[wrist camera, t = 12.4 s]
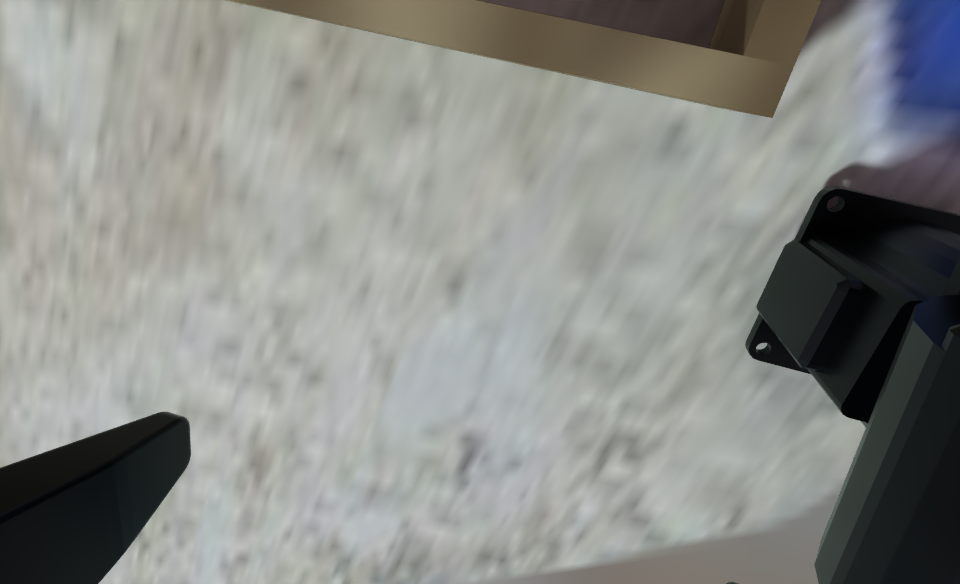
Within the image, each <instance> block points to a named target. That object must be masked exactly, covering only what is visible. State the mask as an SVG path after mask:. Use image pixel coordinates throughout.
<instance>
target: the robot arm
mask: <svg viewBox="0 0 960 584" xmlns="http://www.w3.org/2000/svg"><path fill="white" fill-rule="evenodd" d="M837 196H838V198H839V202H838V204H837V205H836V207H834V208H832V209H827V207H826V206H827V202H828V201H829V200H830V199H831V198H833V197H837ZM757 309H758V311H759V315H758V317H757V319H756V321H755V323H754V325H753V328H752V330H751V332H750V334H749V336H748V338H747V340H746V344H745V345H746V349H747V351H748V352H749V354H750V355H751V356H752V357H753V358H754V359H756V360H759V361H763V362H767V363H770V364H774V365H778V366H782V367H786V368H790V369H793V370H797V371H801V372H805V373H809V374H812V376H813V377H814V378H815V379H816V381H817V382H818V383H819V385H820V386H821V387H822V388H823V390H824V391H825V392H826V394H827V395H828V396H829V397H830V399H831V400H832V401H833V403H834V404H835V405H836V406H837V408H838V409H839V410H840V411H841V413H842V414H843V415H845V416H846V417H848V418H852V419H856V420H860V421H861V422H862V423H863V425H864V426H865V427H866V429H865V432H864V434H863V437H862V439H861V442H860V444H859V447H858V449H857V452H856V454H855V457H854V459H853V462H852V464H851V467H850V469H849V472H848V474H847V477H846V479H845V482H844V484H843V487H842V489H841V492H840V494H839V497H838V499H837V502H836V504H835V507H834V509H833V512H832V514H831V517H830V519H829V521H828V524H827V526H826V529H825V531H824V534H823V536H822V540H821V543H820V546H819V550H818V554H817V558H816V561H815V568H816V573H817V577H818V582H819V584H960V215H959V214H955V213H950V212H946V211H942V210H937V209H933V208H928V207H924V206H920V205H915V204H911V203H906V202H902V201H898V200H893V199H889V198H884V197H880V196H876V195H871V194H867V193H862V192H858V191H854V190H849V189H845V188H840V187H828V188H825V189H823V190H821V191H820V192H819V193H818V194H817V195H816V197H815V198H814V200H813V202H812V204H811V206H810V209H809V211H808V213H807V215H806V217H805V219H804V221H803V223H802V225H801V227H800V229H799V232H798V234H797V236H796V238H795V240H793V241H791V242H789V243H788V244H786V245H785V246H784V249H783V251H782V253H781V255H780V257H779V259H778V261H777V263H776V265H775V268H774V270H773V272H772V274H771V276H770V278H769V280H768V282H767V284H766V287H765V289H764V291H763V293H762V295H761V297H760V299H759V301H758V304H757ZM760 343H767V346H766V347H765V348H764V349H761V350H757V349H756V347H757V346H758V344H760ZM190 456H191V444H190V425H189V421H188V420H187V418H185V417H183V416H179V415H176V414H173V413H169V412H160V413H156V414H153V415H151V416H148V417H145V418H142V419H139V420H136V421H133V422H130V423H128V424H125V425H122V426H119V427H116V428H113V429H110V430H108V431H105V432H102V433H99V434H96V435H93V436H90V437H87V438H85V439H82V440H79V441H76V442H73V443H70V444H67V445H64V446H62V447H59V448H56V449H53V450H50V451H47V452H44V453H42V454H39V455H36V456H33V457H30V458H27V459H24V460H21V461H19V462H16V463H13V464H10V465H7V466H4V467H1V468H0V584H98V583H99V582H100V581H101V580H102V579H103V578H104V576H105V575H106V574H107V573H108V572H109V571H110V569H111V568H112V567H113V566H114V565H115V564H116V562H117V561H118V560H119V559H120V558H121V556H122V555H123V554H124V553H125V552H126V550H127V549H128V548H129V546H130V545H131V544H132V542H133V541H134V540H135V538H136V537H137V536H138V534H139V533H140V532H141V530H142V529H143V527H144V526H145V525H146V523H147V522H148V520H149V519H150V518H151V516H152V515H153V514H154V512H155V511H156V509H157V508H158V507H159V505H160V504H161V502H162V501H163V500H164V498H165V497H166V495H167V494H168V493H169V491H170V490H171V489H172V487H173V486H174V484H175V483H176V482H177V480H178V479H179V477H180V476H181V475H182V473H183V472H184V471H185V469H186V467H187V465H188V463H189V461H190ZM727 584H738V583H735V582H728V583H727Z"/></svg>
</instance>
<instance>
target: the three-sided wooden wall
mask: <svg viewBox="0 0 960 584" xmlns="http://www.w3.org/2000/svg"><path fill="white" fill-rule="evenodd" d="M227 1H232V2H236V3H241V4H246V5H250V6H255V7H259V8H264V9H269V10H273V11H278V12H282V13H287V14H292V15H296V16H301V17H305V18H310V19H314V20H319V21H324V22H328V23H333V24H337V25H342V26H347V27H351V28H356V29H360V30H365V31H370V32H374V33H379V34H383V35H388V36H393V37H397V38H402V39H406V40H411V41H415V42H420V43H425V44H429V45H434V46H438V47H443V48H448V49H452V50H457V51H461V52H466V53H471V54H475V55H480V56H484V57H489V58H494V59H498V60H503V61H507V62H512V63H516V64H521V65H526V66H530V67H535V68H539V69H544V70H549V71H553V72H558V73H562V74H567V75H572V76H576V77H581V78H585V79H590V80H595V81H599V82H604V83H608V84H613V85H618V86H622V87H627V88H631V89H636V90H640V91H645V92H650V93H654V94H659V95H663V96H668V97H673V98H677V99H682V100H686V101H691V102H696V103H700V104H705V105H709V106H714V107H719V108H723V109H728V110H733V111H739V112H744V113H749V114H755V115H760V116H765V117H771V118H773V115H774V113H775V111H776V108H777V106H778V103H779V101H780V99H781V96H782V94H783V91H784V89H785V87H786V84H787V82H788V79H789V77H790V75H791V72H792V70H793V67H794V65H795V63H796V60H797V58H798V55H799V53H800V51H801V48H802V46H803V43H804V41H805V39H806V36H807V34H808V31H809V29H810V26H811V24H812V22H813V19H814V17H815V14H816V12H817V10H818V7H819V5H820V2H821V0H725V2H724V5H723V8H722V11H721V13H720V16H719V19H718V22H717V25H716V28H715V31H714V34H713V36H712V39H711V42H710V45H709V48H704V47H699V46H694V45H689V44H684V43H680V42H675V41H670V40H665V39H660V38H656V37H651V36H646V35H641V34H636V33H631V32H627V31H622V30H617V29H612V28H607V27H603V26H598V25H593V24H588V23H583V22H578V21H574V20H569V19H564V18H559V17H554V16H550V15H545V14H540V13H535V12H530V11H526V10H521V9H516V8H511V7H506V6H501V5H497V4H492V3H487V2H482V1H477V0H227Z"/></svg>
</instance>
